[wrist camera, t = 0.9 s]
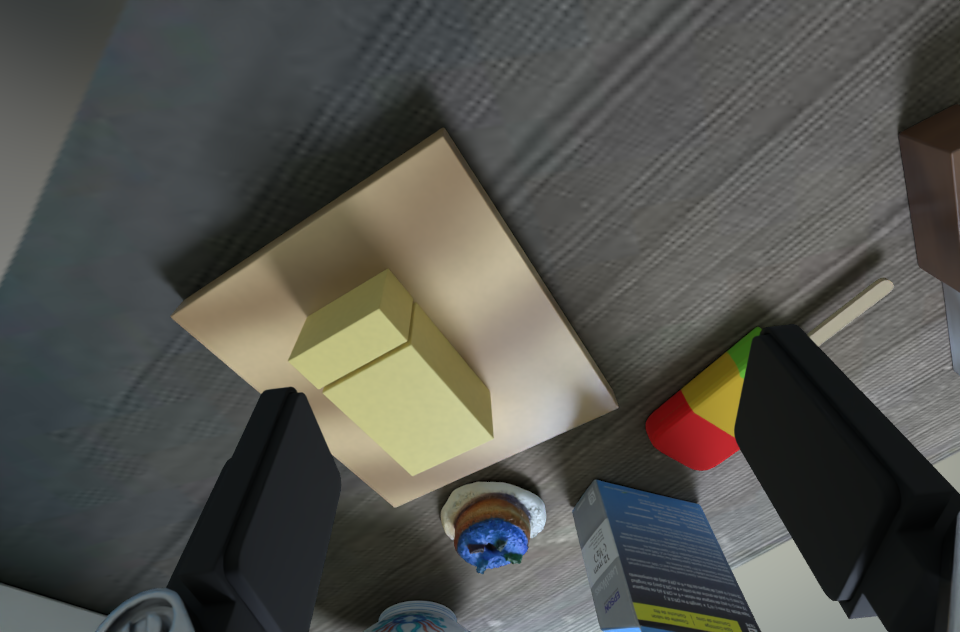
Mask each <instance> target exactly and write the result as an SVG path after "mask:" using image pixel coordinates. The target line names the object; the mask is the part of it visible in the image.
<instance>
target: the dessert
mask: <svg viewBox="0 0 960 632" xmlns="http://www.w3.org/2000/svg"><path fill="white" fill-rule="evenodd" d="M441 522H442V525H443V528H444V531H445V533H446V535H448V536H449V537H450V539H451V540H454V546H455V549H456V551H457V553H458V555H459V556H461V557H462V558H463V559H464V560H465V561H466V562H467V563H470V564H471V565H474V566H477V569H476V570H477V572H478V573H481V574H484V571H485V570H486V568H491V569H493V568H495V567H497V568H499V566H500V567H501V566H504V565H506V564H510V563H512V564H514V563H518V564H520V563H521V560H522V556H523V555H524V554H525V553H526V551H527V549H528V543H529V540H530V538H532V537H535V536H536V535H537V534H538V532H541V531H542V529H543V528H544V525H545V522H546V511H545V504H544V503H543V501H542V500H541V499H540V497H538V496H537V495H535V494H533V493H531V492H530V491H527V490H524V489H521V488H520V487H517V486H515V485H511V484H507V483H504V482H480V481H479V482H475V483H472V484H466V485H464V486H461V487H459V488H457V489H455V490H454V491H453V492H452V493H451V495H450V497H449V499H448V501H447V502H446V504H445V505H444V506H443V508H442V510H441Z"/></svg>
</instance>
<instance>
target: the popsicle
mask: <svg viewBox="0 0 960 632" xmlns="http://www.w3.org/2000/svg"><path fill="white" fill-rule="evenodd" d="M893 287H894V285H893V283H892V282H891V281H889V280H888V279H886V278H880V279H878V280H876V281H875V282H873V283H872V284H871V285H870V286H868V287H867V288H866V289H864V290H863V291H862V292H861V293H859V294H858V295H857V296H855V297H854V298H853V299H852V300H850V301H849V302H848V303H846V304H845V305H844V306H843V307H841V308H840V309H839V310H837V311H836V312H835V313H834V314H832V315H831V316H830V317H828V318H827V319H826V320H825V321H823V322H822V323H821V324H819V325H818V326H817V327H816V328H814V329H813V330H812V331H810V332H809V333H808V334H807V335H808V336H809V337H810V338H811V339H812V341H813V342H814V343H815V344H816V345H817V346H820V345H821V344H822V343H823V342H825V341H826V340H827V339H829V338H830V337H831V336H833V335H834V334H835V333H837V332H838V331H839V330H841V329H842V328H843V327H845V326H846V325H847V324H849V323H850V322H851V321H853V320H854V319H855V318H856V317H858V316H859V315H860V314H862V313H863V312H864V311H866V310H867V309H868V308H870V307H871V306H872V305H874V304H875V303H876V302H878V301H879V300H880V299H882V298H883V297H884V296H886V295H887V294H888V293H889V292H891V291H892V289H893ZM761 330H762V329H761V328H760V327H756V328H755V329H753V330H752V331H751V332H750V333H749V334H747V335H746V336H745V337H744V338H742V339H741V340H740V341H739V342H738V343H736V344H735V345H734V346H733V347H732V348H730V349H729V350H728V351H727V352H725V353H724V354H723V355H722V356H721V357H719V358H718V359H717V360H716V361H715V362H713V363H712V364H711V365H710V366H709V367H707V368H706V369H705V370H704V371H702V372H701V373H700V374H699V375H698V376H696V377H695V378H694V379H693V380H692V381H690V382H689V383H688V384H687V385H685V386H684V387H683V388H682V389H681V390H679V391H678V392H677V393H676V394H675V395H673V396H672V397H671V398H670V399H668V400H667V401H666V402H665V403H664V404H662V405H661V406H660V407H659V408H658V409H656V410H655V411H654V412H653V413H652V414H651V415H650V416H649V417H648V419H647V421H646V432H647V434H648V437H649V439H650V441H651V443H652V444H653V446H654V447H655V448H656V449H658V450H659V451H660V452H662V453H663V454H665V455H667V456H669V457H671V458H672V459H674V460H676V461H678V462H680V463H681V464H683V465H685V466H687V467H689V468H691V469H694V470H699V471H703V470H708V469H711V468H713V467H715V466H717V465H718V464H720V463H721V462H723V461H724V460H725V459H727V458H728V457H730V456H731V455H732V454H734V453H735V452H737V451H738V450H739V449H740V448H739V446H738V444H737V442H736V439H735V435H734V426H735V421H736V416H737V411H738V406H739V401H740V396H741V391H742V387H743V382H744V377H745V372H746V367H747V362H748V357H749V352H750V347H751V342H752V339H753V338H754V336H759V335H760V332H761Z"/></svg>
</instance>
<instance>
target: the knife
mask: <svg viewBox="0 0 960 632" xmlns="http://www.w3.org/2000/svg"><path fill="white" fill-rule="evenodd" d="M899 142H900V148H901V155H902V161H903V168H904V174H905V181H906V187H907V194H908V200H909V207H910V213H911V219H912V226H913V232H914V239H915V245H916V252H917V258H918V265H919V267H920V268H921V269H923V270H924V271H926V272H928V273H929V274H931V275H932V276H934V277H936V278H937V279H939V280H940V281H942V282H943V290H944V298H945V306H946V314H947V322H948V330H949V338H950V346H951V353H952V361H953V369H954V371H955V372H956V373H957V374H958V375H960V105H959V104H955V105H953V106H951V107H949V108H947V109H945V110H943V111H941V112H939V113H937V114H935V115H933V116H931V117H930V118H928V119H926V120H924V121H922V122H920V123H918V124H916V125H914V126H912V127H910V128H908V129H906V130H904V131H902V132H901V133H899Z"/></svg>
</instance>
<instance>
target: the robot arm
mask: <svg viewBox="0 0 960 632" xmlns="http://www.w3.org/2000/svg"><path fill="white" fill-rule="evenodd" d="M734 435H735V439H736V442H737V444H738V446H739V448H740V450H741V452H742V453H743V455H744V457H745V458H746V460H747V462H748V463H749V465H750V467H751V469H752V470H753V472H754V474H755V475H756V477H757V479H758V481H759V482H760V484H761V486H762V487H763V489H764V491H765V492H766V494H767V496H768V498H769V499H770V501H771V503H772V504H773V506H774V508H775V509H776V511H777V513H778V515H779V516H780V518H781V520H782V521H783V523H784V525H785V526H786V528H787V530H788V532H789V533H790V535H791V537H792V538H793V540H794V542H795V543H796V545H797V547H798V548H799V550H800V552H801V553H802V555H803V557H804V559H805V560H806V562H807V564H808V566H809V567H810V569H811V571H812V572H813V574H814V576H815V578H816V579H817V581H818V583H819V584H820V586H821V588H822V589H823V591H824V592H825V594H826V595H827V596H828V597H829V598H830V599H831V600H833V601H839V603H840V605H841V607H842V608H843V610H844V612H845V613H846V615H847V617H848V618H849V619H853V618H862V617H872V616H878V617H879V619H880V620H881V622H882V624H883V625H884V627H885V628H886V630H887V631H888V632H960V494H959V493H958V492H957V491H956V490H955V489H954V487H952V485H951V484H950V483H949V482H948V481H947V480H946V479H945V478H944V477H943V476H942V475H941V474H940V473H939V472H938V471H937V470H936V469H935V468H934V467H933V465H932V464H931V463H930V462H929V461H928V460H927V459H926V458H925V457H924V456H923V455H922V454H921V453H920V452H919V451H918V450H917V449H916V448H915V447H914V446H913V445H912V444H911V442H910V441H909V440H908V439H907V438H906V437H905V436H904V435H903V434H902V433H901V432H900V431H899V430H898V429H897V428H896V427H895V426H894V425H893V424H892V423H891V422H890V421H889V419H888V418H887V417H886V416H885V415H884V414H883V413H882V412H881V411H880V410H879V409H878V408H877V407H876V406H875V405H874V404H873V403H872V402H871V401H870V400H869V399H868V398H867V397H866V395H865V394H864V393H863V392H862V391H860V390H859V389H858V388H857V387H856V386H855V384H854V383H853V382H852V381H851V380H850V379H849V378H848V377H847V376H846V375H845V374H844V373H843V372H842V371H841V370H840V369H839V368H838V367H837V366H836V365H835V364H834V362H833V361H832V360H831V359H830V358H829V357H828V356H827V355H826V354H825V353H824V352H823V351H822V350H821V349H820V348H819V347H818V346H817V345H816V344H815V343H814V342H813V341H812V339H811V338H810V337H809V336H808V335H807V334H806V333H805V332H804V331H803V330H802V329H801V328H800V327H799V326H797V325H794V324H790V325H782V326H774V327H766V328H763V329H762V330H761V332H760V335H759V336H754V338H753V339H752V342H751V347H750V352H749V357H748V362H747V367H746V372H745V377H744V382H743V387H742V391H741V396H740V401H739V406H738V411H737V416H736V421H735V426H734ZM340 492H341V477H340V473H339V471H338V469H337V466H336V464H335V462H334V459H333V457H332V455H331V452H330V450H329V448H328V445H327V443H326V441H325V439H324V436H323V434H322V432H321V429H320V427H319V425H318V422H317V420H316V418H315V415H314V413H313V411H312V408H311V406H310V404H309V402H308V399H307V397H306V395H305V394H304V393H303V392H299V393H298V392H297V390H296V389H295V388H294V387H284V388H276V389H268V390H265V391H263V393H262V394H261V396H260V398H259V400H258V402H257V405H256V407H255V409H254V411H253V413H252V415H251V417H250V420H249V422H248V424H247V426H246V428H245V430H244V432H243V434H242V437H241V439H240V441H239V443H238V445H237V447H236V449H235V452H234V454H233V456H232V458H230V459H229V460H228V461H227V462H226V464H225V465H224V467H223V469H222V471H221V473H220V475H219V477H218V480H217V482H216V484H215V486H214V488H213V490H212V492H211V494H210V496H209V499H208V501H207V503H206V505H205V507H204V509H203V511H202V513H201V515H200V517H199V520H198V522H197V524H196V526H195V528H194V530H193V532H192V534H191V536H190V539H189V541H188V543H187V545H186V547H185V549H184V551H183V553H182V555H181V558H180V560H179V562H178V564H177V566H176V568H175V570H174V572H173V574H172V576H171V579H170V581H169V583H168V585H167V587H166V588H154V589H151V590H147V591H144V592H141V593H139V594H137V595H135V596H133V597H132V598H130V599H128V600H126V601H125V602H123V603H122V604H121V605H120V606H118V607H117V608H116V609H115V610H114V611H112V612H111V613H110V614H109V615H108V616H107V618H106V619H105V620H104V621H103V622H102V623H101V624H100V625H99V626H98V628H97V630H96V631H95V632H309V628H310V624H311V619H312V615H313V610H314V606H315V602H316V597H317V593H318V588H319V584H320V580H321V575H322V571H323V566H324V562H325V558H326V553H327V549H328V544H329V540H330V536H331V531H332V527H333V522H334V518H335V514H336V509H337V505H338V501H339V496H340Z"/></svg>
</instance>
